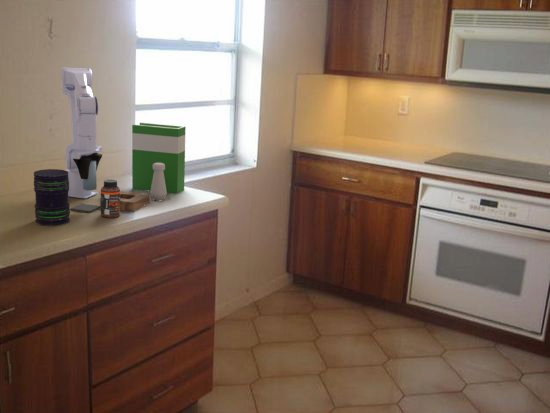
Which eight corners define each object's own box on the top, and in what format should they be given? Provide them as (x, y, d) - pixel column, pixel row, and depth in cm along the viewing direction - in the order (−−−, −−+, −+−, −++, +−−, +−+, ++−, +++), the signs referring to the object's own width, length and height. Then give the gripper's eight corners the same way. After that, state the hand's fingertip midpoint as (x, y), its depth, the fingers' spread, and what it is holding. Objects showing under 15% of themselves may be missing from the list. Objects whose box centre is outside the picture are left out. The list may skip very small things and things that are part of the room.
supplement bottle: (110, 219, 190) (109, 183, 187) (96, 215, 193) (96, 180, 190) (124, 215, 195) (124, 180, 192) (110, 212, 198) (110, 177, 195)
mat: (70, 210, 197) (70, 208, 197) (81, 205, 204) (81, 203, 204) (89, 213, 196) (89, 211, 195) (101, 207, 202) (100, 206, 202)
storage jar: (36, 227, 179) (33, 176, 175) (34, 217, 187) (32, 169, 183) (72, 224, 183) (70, 175, 179) (68, 215, 191) (67, 168, 187)
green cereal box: (132, 189, 229) (132, 124, 223) (140, 185, 236) (140, 122, 230) (177, 194, 226) (178, 128, 220) (184, 189, 233) (185, 126, 227)
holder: (100, 207, 203) (100, 198, 202) (117, 199, 214) (117, 190, 213) (133, 211, 200) (133, 202, 199) (149, 203, 211) (149, 194, 211)
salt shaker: (163, 202, 214) (163, 165, 210) (147, 200, 215) (147, 163, 211) (169, 198, 219) (169, 162, 216) (154, 196, 220) (154, 160, 217)
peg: (81, 189, 196) (80, 162, 194) (85, 186, 200) (84, 159, 198) (94, 190, 196) (93, 162, 194) (98, 187, 200) (97, 160, 198)
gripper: (86, 139, 186) (87, 183, 190) (110, 133, 200) (110, 174, 203) (65, 137, 188) (67, 180, 191) (90, 131, 201) (91, 172, 205)
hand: (88, 177), depth 197 cm, fingers closed on peg, 4 cm apart
